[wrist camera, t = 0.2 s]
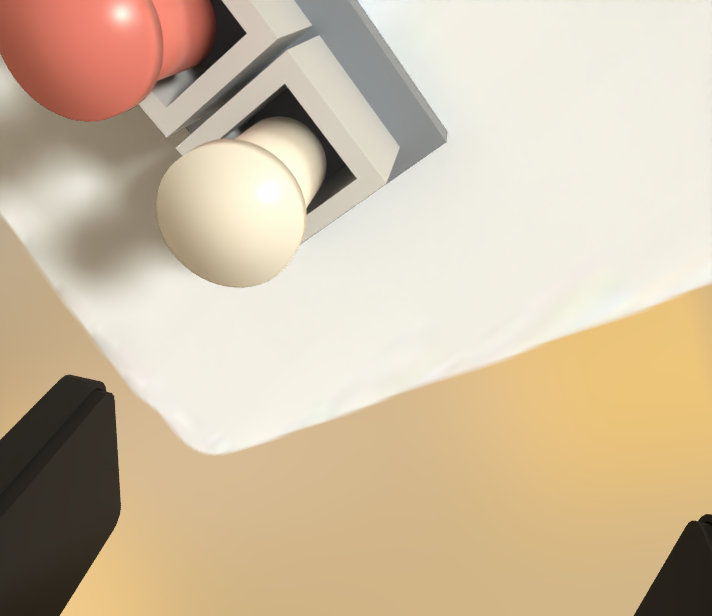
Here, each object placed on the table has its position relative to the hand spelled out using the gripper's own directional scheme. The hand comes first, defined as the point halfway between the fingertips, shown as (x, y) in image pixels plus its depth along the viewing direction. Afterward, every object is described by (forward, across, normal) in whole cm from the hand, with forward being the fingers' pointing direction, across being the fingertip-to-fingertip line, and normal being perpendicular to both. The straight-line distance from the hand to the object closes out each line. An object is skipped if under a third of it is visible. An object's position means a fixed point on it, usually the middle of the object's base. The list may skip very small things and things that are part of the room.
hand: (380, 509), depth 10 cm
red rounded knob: (+22, +13, -4) cm, 26 cm away
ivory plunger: (+22, +7, +2) cm, 23 cm away
